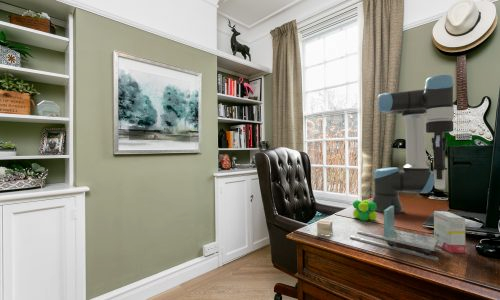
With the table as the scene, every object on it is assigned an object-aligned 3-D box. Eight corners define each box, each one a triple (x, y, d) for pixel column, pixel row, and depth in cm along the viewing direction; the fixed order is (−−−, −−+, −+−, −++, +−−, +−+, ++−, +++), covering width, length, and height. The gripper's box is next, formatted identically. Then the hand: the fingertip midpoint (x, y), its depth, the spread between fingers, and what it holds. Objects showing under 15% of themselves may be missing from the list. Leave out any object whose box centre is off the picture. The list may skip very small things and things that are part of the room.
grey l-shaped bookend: (391, 237, 90) (391, 205, 90) (438, 247, 80) (438, 212, 80) (383, 245, 83) (383, 210, 83) (434, 258, 73) (433, 218, 73)
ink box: (466, 253, 77) (466, 217, 77) (450, 253, 78) (449, 217, 78) (448, 243, 86) (447, 210, 86) (433, 242, 86) (433, 210, 86)
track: (358, 232, 98) (358, 230, 98) (441, 251, 79) (441, 249, 79) (349, 238, 92) (349, 236, 92) (437, 261, 73) (437, 258, 73)
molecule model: (366, 215, 121) (351, 217, 119) (366, 198, 121) (351, 199, 119) (378, 221, 112) (362, 222, 111) (378, 202, 112) (362, 203, 111)
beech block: (320, 230, 101) (320, 219, 101) (332, 232, 98) (332, 220, 98) (317, 234, 96) (317, 222, 96) (329, 236, 94) (329, 224, 94)
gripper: (428, 123, 90) (429, 185, 90) (423, 120, 80) (423, 189, 80) (454, 121, 84) (455, 187, 85) (451, 118, 75) (452, 192, 75)
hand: (439, 188), depth 83 cm, fingers closed
